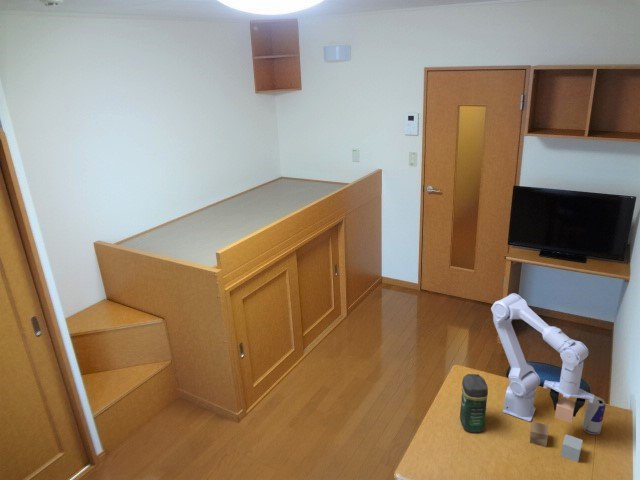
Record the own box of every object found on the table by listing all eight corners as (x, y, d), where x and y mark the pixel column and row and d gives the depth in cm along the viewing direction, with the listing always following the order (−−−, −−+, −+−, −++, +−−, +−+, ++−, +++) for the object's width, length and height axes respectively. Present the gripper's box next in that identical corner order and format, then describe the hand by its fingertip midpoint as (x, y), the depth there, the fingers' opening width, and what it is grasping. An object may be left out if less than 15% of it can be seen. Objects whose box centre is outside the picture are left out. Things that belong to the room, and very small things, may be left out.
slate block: (560, 456, 155) (562, 444, 153) (563, 446, 159) (565, 434, 157) (578, 462, 152) (580, 450, 151) (580, 452, 156) (582, 440, 154)
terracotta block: (554, 417, 160) (556, 405, 158) (557, 408, 163) (559, 396, 162) (571, 423, 157) (573, 410, 155) (574, 413, 161) (576, 401, 159)
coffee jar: (487, 433, 166) (491, 389, 159) (463, 433, 166) (466, 389, 159) (480, 414, 175) (483, 371, 168) (457, 414, 175) (460, 371, 168)
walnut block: (529, 443, 161) (531, 431, 159) (530, 432, 165) (532, 421, 163) (546, 447, 159) (548, 435, 157) (546, 436, 163) (548, 425, 161)
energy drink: (602, 436, 162) (608, 407, 158) (585, 434, 163) (590, 405, 159) (597, 424, 167) (602, 396, 162) (580, 423, 168) (585, 395, 164)
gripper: (543, 377, 156) (538, 411, 160) (594, 392, 148) (587, 427, 153) (548, 365, 161) (543, 398, 166) (597, 379, 153) (591, 414, 158)
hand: (565, 411), depth 160 cm, fingers closed on terracotta block, 5 cm apart
